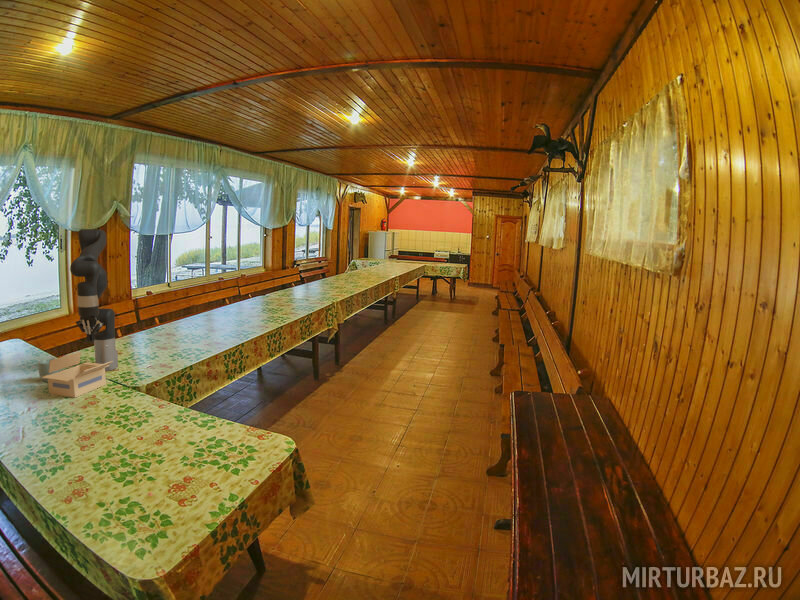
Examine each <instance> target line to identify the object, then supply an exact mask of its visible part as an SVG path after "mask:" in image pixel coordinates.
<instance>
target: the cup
mask: <svg viewBox="0 0 800 600" xmlns="http://www.w3.org/2000/svg"><path fill="white" fill-rule="evenodd" d="M54 359H55V358H47V359H46V358H45V359H42V360H40V361H38V363H37V369H38V375H39V378H40V380H41V381H42V382H45V383H46V382H47V383H48V379H45V378H41V377H43V376H46V375H51V374H54V373H57V372H60V371H61V369H60V370H57V371H54V372H51V373H49V363H50V360H54Z"/></svg>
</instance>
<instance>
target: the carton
mask: <svg viewBox="0 0 800 600" xmlns="http://www.w3.org/2000/svg"><path fill="white" fill-rule="evenodd" d="M99 365H102V364H98V363H95V362H89V361H86V362H84V363H81V364H79V365H78V364H77V365H76V366H75V365H74V366H71V367H69V368H66V369H63V370H60V372H57V373H54V374H51V375H46V376H43V377H41V378H45V379H48V382H47V384H48V386H47V387H48V394H49V395H52V396H53V395H54V396H58V397H64V398H65V397H66V398H71V397H72V399H73V398H74V399H77V398H78V396H79V397H81V396H84V395H86V394H89V393H91V392H93V391H92V390H94V391H96V390H98V389H97V388H99V387H101V386H104V385H106V386H107V382H106V380H107V379H106V371H105V367H108V366H110V365H107V366H105V367H103V368H101V369H98V370H95V371H92V372H89V373H87V374H84V375H81V376H78V377H76V376H77V375H78V374H80V373H81V372H83V371H85V370H87V369H90V368H93V367H96V366H99ZM41 378H40V379H41ZM104 387H105V386H104ZM101 388H102V387H101ZM95 389H96V390H95ZM99 389H100V388H99ZM90 391H91V392H90ZM88 392H89V393H88ZM85 393H86V394H85ZM83 394H84V395H83ZM80 395H81V396H80ZM76 397H77V398H76Z"/></svg>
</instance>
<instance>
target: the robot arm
mask: <svg viewBox="0 0 800 600" xmlns="http://www.w3.org/2000/svg"><path fill="white" fill-rule="evenodd" d="M78 242H79V247H80V253H79V256H78V257H77V258H75V259H74V260H73V261H72V262H71V264H70V268H69V270H70V273H71V275H73V276H74V277H78V278H82V277H83V278H84V281H81V282H80V281H79V282H78V283H77V284H76V286H77V288H76V291H77V310H78V313H77V314H78V316H80V317H79V320H75V325H77V327H78V328H79V329H80V331H81V332H82V333H85V334H86V340H87V343H92V342H93V345H94V361H95V362H94V363H98V364H105V363H108V362H110V361H113V362H111V363H110V364H108V365H110V366H108V367H105V372H109V371H113V370H115V369H117V368H118V367H119V358H118V357H119V356H118V349H116V326H115V325H116V313H115V311H114V309H113V308H99V307H100V306H99V299H100V298H101V296H102V295H103V293H104V292H105V291H106V289H107V286H108V279H107V278H108V275H107V271H106V270H105V269H104V268H103V266H102V265H101V264H100V263H99V262H98V260H99V256H100V255H101V253H102V252H103V251H104V249H105V248H106V245H107V242H108V241H107V235H106V232H105V230H103V229H98V228H97V229H95V228H94V229H93V228H91V229H90V228H81V229H79V230H78ZM103 327H105V328H104V329H103V330H101V329H102V328H103Z"/></svg>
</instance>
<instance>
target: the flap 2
mask: <svg viewBox="0 0 800 600" xmlns="http://www.w3.org/2000/svg"><path fill="white" fill-rule="evenodd" d="M111 362H113V361H110V362H108V363H105V364H102V365H99V366H96V367H95V366H94V367H93V368H90V369H87V370H85V371H83V372H81V373H80V374H78V375H77V376H76V377H78V376H81V375H84V374H87V373H89V372H92V371H95V370H98V369H101V368H103V367H105V366H107V365H108V364H110V363H111Z"/></svg>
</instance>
